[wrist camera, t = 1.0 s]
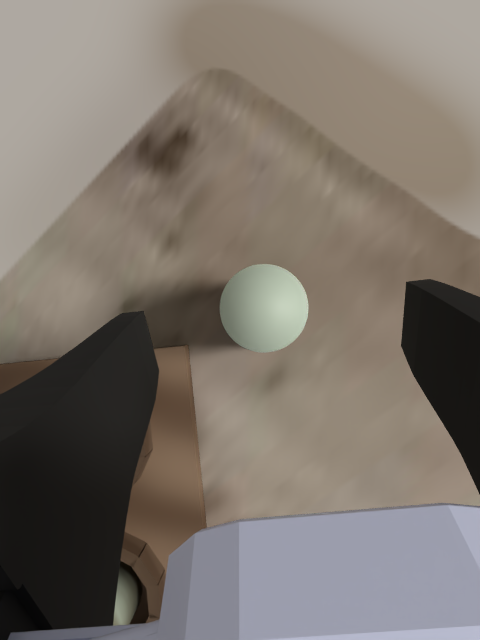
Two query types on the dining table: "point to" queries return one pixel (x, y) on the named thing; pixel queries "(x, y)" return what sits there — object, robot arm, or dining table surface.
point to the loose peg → (264, 308)
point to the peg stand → (152, 485)
